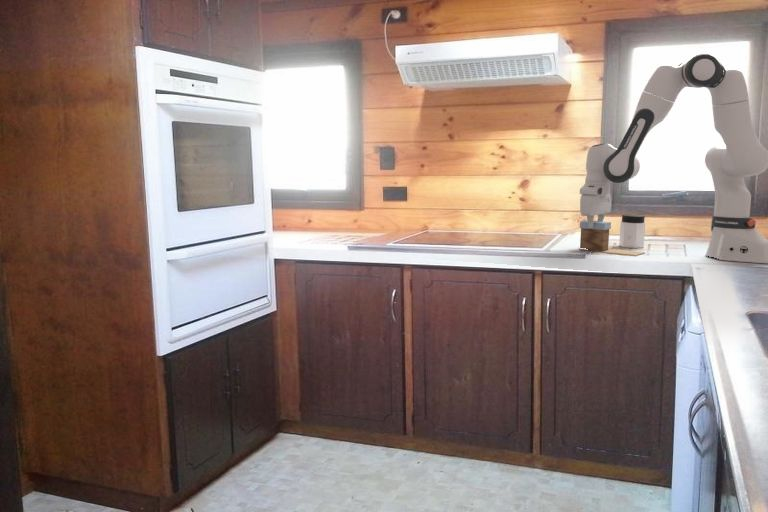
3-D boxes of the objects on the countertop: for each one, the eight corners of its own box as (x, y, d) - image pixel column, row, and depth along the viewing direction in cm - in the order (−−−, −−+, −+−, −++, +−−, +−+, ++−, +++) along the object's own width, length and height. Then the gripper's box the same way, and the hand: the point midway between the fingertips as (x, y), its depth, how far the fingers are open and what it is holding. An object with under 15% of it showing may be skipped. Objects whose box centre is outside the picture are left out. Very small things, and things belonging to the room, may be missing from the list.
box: (608, 250, 258) (609, 228, 257) (602, 252, 254) (604, 229, 253) (585, 248, 264) (586, 226, 262) (579, 249, 259) (580, 228, 258)
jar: (616, 247, 268) (618, 215, 266) (621, 244, 275) (623, 213, 273) (641, 248, 263) (643, 216, 262) (645, 246, 271) (647, 215, 269)
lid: (610, 231, 257) (611, 222, 257) (604, 233, 253) (604, 223, 252) (586, 229, 263) (586, 220, 262) (579, 231, 258) (580, 221, 258)
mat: (644, 253, 252) (644, 252, 252) (636, 256, 245) (636, 255, 245) (611, 250, 259) (611, 249, 259) (602, 252, 252) (602, 251, 252)
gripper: (600, 187, 265) (598, 224, 268) (577, 189, 250) (575, 228, 252) (616, 188, 262) (614, 225, 264) (594, 190, 246) (592, 229, 248)
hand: (595, 226), depth 258 cm, fingers closed on lid, 6 cm apart
